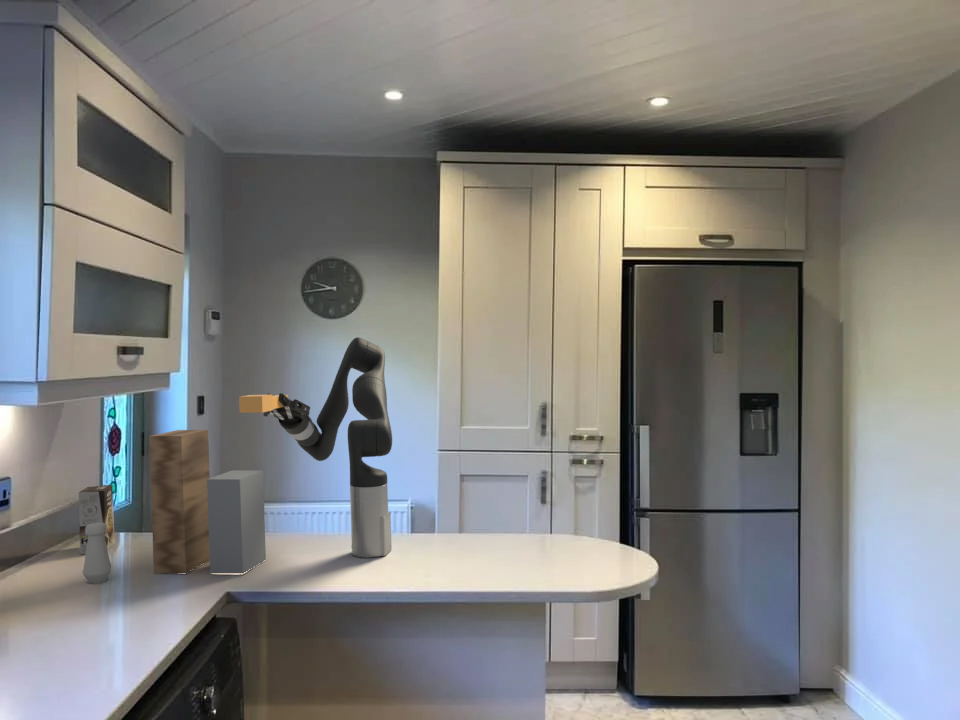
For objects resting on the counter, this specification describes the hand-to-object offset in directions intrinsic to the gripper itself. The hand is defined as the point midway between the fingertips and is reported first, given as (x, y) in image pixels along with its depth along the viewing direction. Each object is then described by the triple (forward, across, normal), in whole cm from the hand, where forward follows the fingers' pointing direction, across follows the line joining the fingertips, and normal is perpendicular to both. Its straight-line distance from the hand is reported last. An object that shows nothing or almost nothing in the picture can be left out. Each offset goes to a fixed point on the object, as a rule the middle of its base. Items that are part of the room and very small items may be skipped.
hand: (274, 396), depth 197 cm
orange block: (+2, 0, +5) cm, 5 cm away
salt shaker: (+10, -28, +51) cm, 59 cm away
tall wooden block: (0, -14, +45) cm, 47 cm away
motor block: (0, 0, +45) cm, 45 cm away
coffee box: (-11, -46, +38) cm, 61 cm away
